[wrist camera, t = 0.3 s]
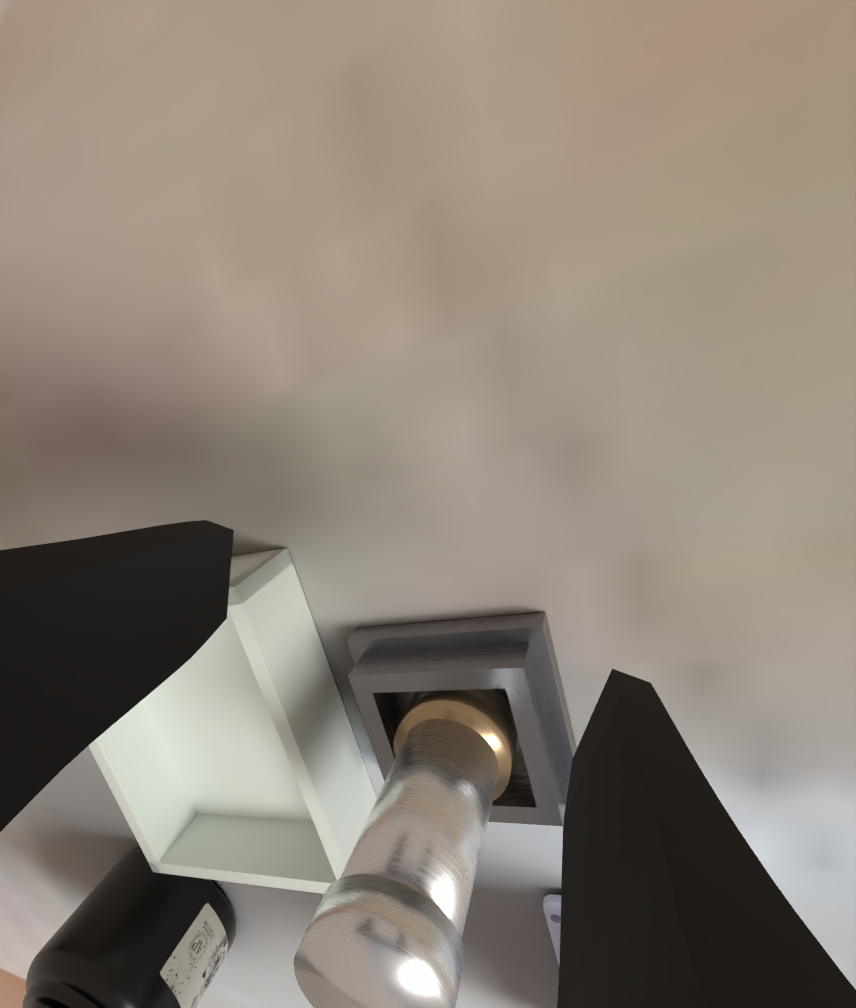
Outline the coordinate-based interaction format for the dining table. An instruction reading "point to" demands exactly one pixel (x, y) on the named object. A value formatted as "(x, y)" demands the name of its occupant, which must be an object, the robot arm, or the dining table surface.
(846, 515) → the dining table surface
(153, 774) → the tray
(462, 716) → the silver rounded piece
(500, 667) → the socket base
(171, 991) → the ink bottle
